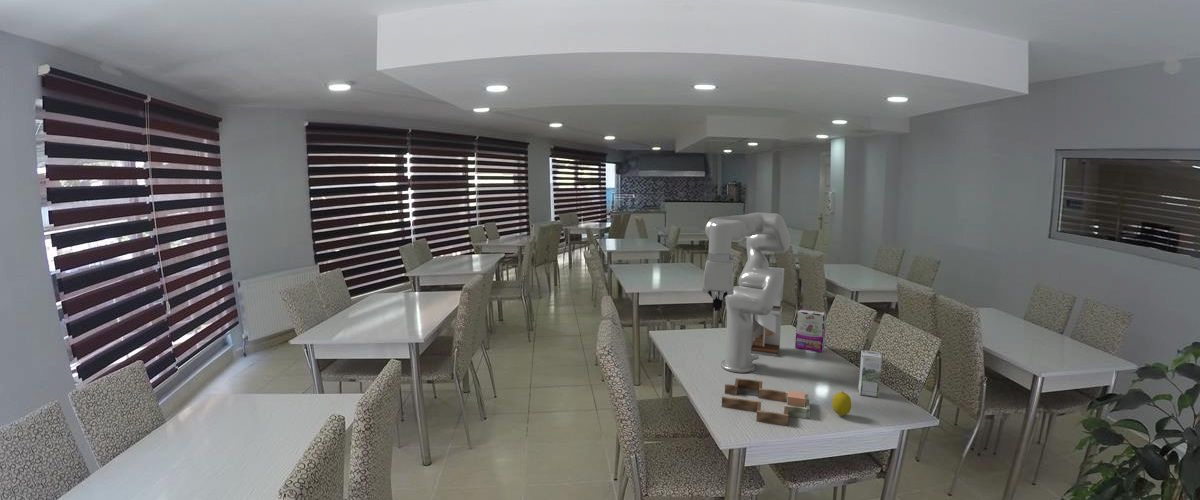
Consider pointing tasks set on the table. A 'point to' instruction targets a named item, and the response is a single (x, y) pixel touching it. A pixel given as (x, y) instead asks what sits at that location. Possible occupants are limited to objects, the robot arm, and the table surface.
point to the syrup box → (869, 373)
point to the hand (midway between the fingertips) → (717, 309)
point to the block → (795, 399)
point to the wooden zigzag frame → (752, 389)
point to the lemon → (841, 403)
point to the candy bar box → (810, 330)
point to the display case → (768, 326)
